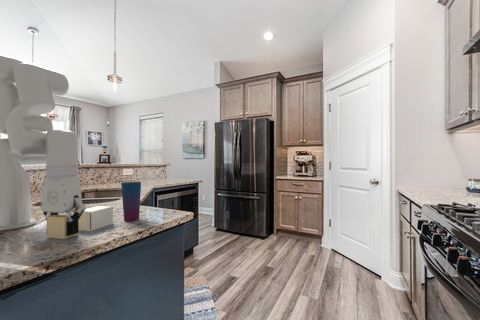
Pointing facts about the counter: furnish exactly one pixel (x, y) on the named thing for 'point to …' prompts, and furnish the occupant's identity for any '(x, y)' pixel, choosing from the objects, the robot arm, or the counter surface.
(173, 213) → the counter surface
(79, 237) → the board
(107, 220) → the white rectangular box
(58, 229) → the stub
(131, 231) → the counter surface
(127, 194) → the cup
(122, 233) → the counter surface
